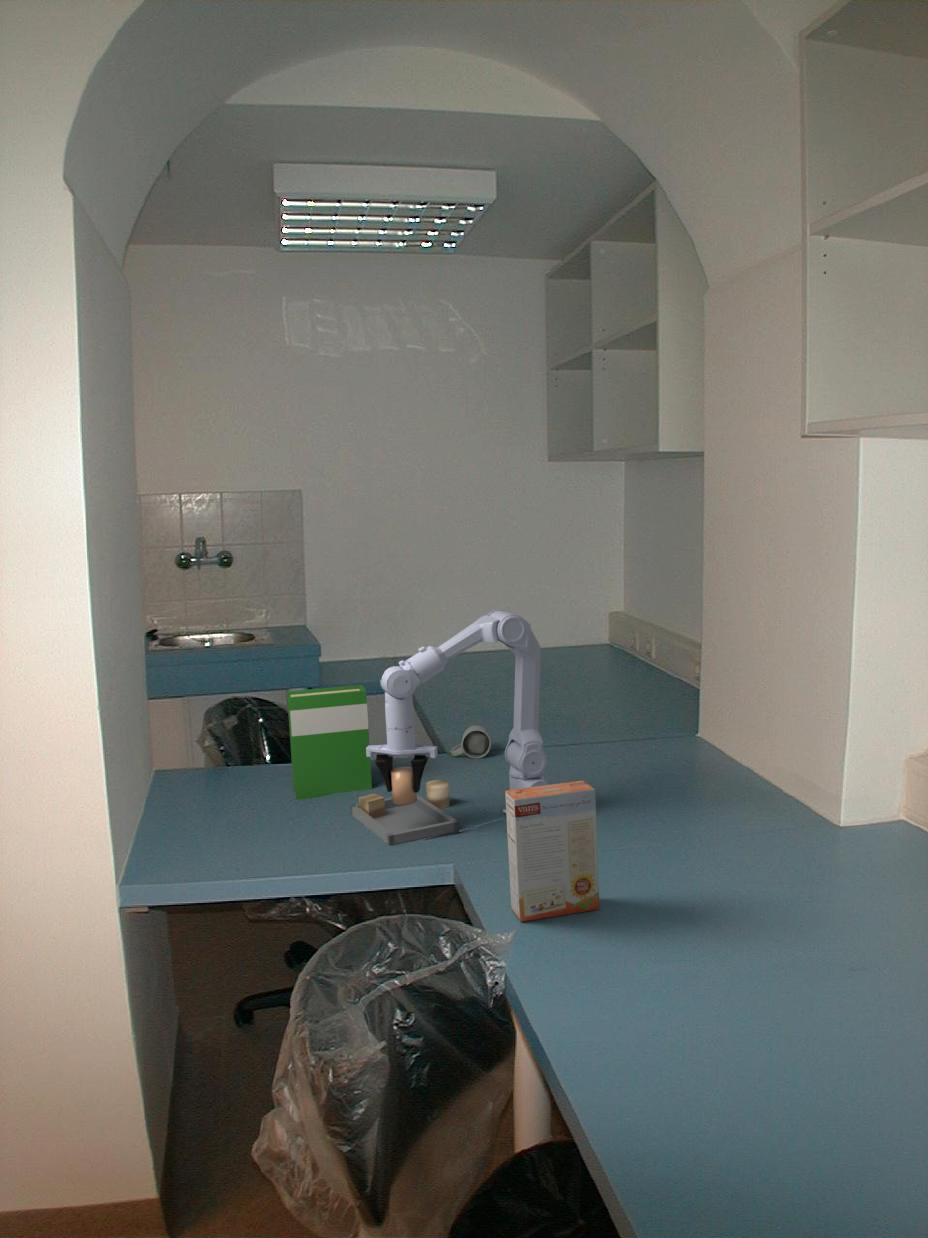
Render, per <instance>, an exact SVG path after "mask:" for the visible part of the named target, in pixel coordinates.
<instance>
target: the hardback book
mask: <svg viewBox="0 0 928 1238" xmlns="http://www.w3.org/2000/svg"><path fill="white" fill-rule="evenodd" d="M286 698H287V699H286V700H287V713H288V715H287V716H288V726H289V739H290V740H289V743H290V753H291V755H290V756H291V770H292V785H293V792H295V800H296V801H298V800H299V801H300V800H307V799H316V798H320V797H325V796H328V795H332V794H339V793H340V794H341V793H350V792H358V791H359V792H360V791H365V790H366V791H367V790H372V789H373V785H372V784H373V783H372V782H373V781H372V766H371V765H372V764H371V757H367V756H366V748H367V747H368V746H369V745H370V734H369V733H370V729H369V715H368V698H367V689H366V688H365V687H364V686H363V684H356V685H346V686H343V685H342V686H334V687H324V688H322V687H321V688H312V689H311V688H310V689H302V690H289V691H286Z"/></svg>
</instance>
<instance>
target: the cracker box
mask: <svg viewBox="0 0 928 1238" xmlns="http://www.w3.org/2000/svg"><path fill="white" fill-rule="evenodd" d="M504 793H505V796H504V797H505V809H506V813H505V816H506V831H507V832H506V833H507V836H506V837H507V849H508V850H507V852H508V867H509V868H508V869H509V870H508V871H509V886H510V887H509V888H510V892H509V893H510V907H511V910H512V912H513V913H514V914H515V916H516V917H517V918H518V920H519V921H520V922H522V923H523V922H529V921H534V920H540V919H542V920H543V919H547V918H551V917H559V916H566V915H571V914H572V915H573V914H577V913H584V912H591V911H596V910H600V884H599V883H600V882H599V881H600V878H599V855H598V854H599V853H598V852H599V851H598V831H597V830H598V829H597V807H596V805H597V803H596V789H595V787H592V786H591V785H590V784H588V783H587V782H586V781H584V780H577V781H569V782H560V783H554V784H553V783H552V784H549V785H545V786H537V787H529V788H521V789H513V790H510V789H508V790H505V792H504Z"/></svg>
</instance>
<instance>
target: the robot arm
mask: <svg viewBox="0 0 928 1238" xmlns="http://www.w3.org/2000/svg"><path fill="white" fill-rule="evenodd" d="M498 642H499V643H502V644H503V645H505V647H506V648H507V649H509V650H510V652H512V653H513V654H514V656H515V662H514V693H513V694H514V695H513V696H514V697H513V698H514V699H513V725H512V726H513V728H512V729H511V731H510V732H509V735H508V736H509V737H508V742H507V744H506V747H505V750H504V759H505V760H506V762H507V763H508V764H509V765H510V768H509V771H508V776H509V777H508V779H509V790H513V789H521V788H529V787H537V786H545V785H550V784H549V783H548V782H547V781H546V780H545V777H544V771H545V770H546V768H547V763H548V759H547V755H546V753H545V750H544V741H543V738H542V736H541V734H540V732H539V722H540V721H539V719H540V718H539V717H540V714H539V713H540V688H541V686H540V685H541V654H542V652H541V651H542V648H541V645H540V643H539V640H538V639H537V638H536V636H535V634H534V632H533V630H532V628H531V623H529V622H528V620H526V619H524V617H522V616H520V615H519V614H516V613H511V612H508V611H506V610H505V609H504V610H503V609H494V610H492V611H490V612H489V613H488V614H484V615H482V616H480V617H479V618H478V619H477V620H475V621H474V622H472V623H471V624H470V625H468V626H467V627H466V628H464V629H462V630H461V631H459V632H458V633H457V634H456V635H454V636H452V637H451V638H450V639H448V640H446V641H445V642H444V643H442V644H441V645H439V646H437V647H436V646H432V645H429V646H427V647H426V646H421V647H419V648H418V650H417V651H418V652H417V653H415V654H414V655H412V656H410V657H409V658H408V659H406V660H400V661H399V662H398V665H399V666H398V665H397V666H394V665H393V666H390V667H388V668H387V669H385V671H384V672H383V674H382V677H381V679H380V680H379V683H380V687H381V688H382V689H383V691H385V692H384V700H385V701H384V702H385V703H384V713H385V715H384V716H385V726H386V727H385V728H386V729H385V730H386V731H385V732H386V744H375V745H373V744H371V745H370V744H369V746H368V747H367V748H366V756H367V757H370V758H371V757H376V758H375V760H374V764H375V766H376V767H377V769H378V770H379V773H380V774H381V775H382V778H383V780H384V783H385V787H386V791H387V792H388V793H392V785H391V772H390V771H391V770H392V769H394V768H393V765H394V764H393V762H394V757H399V758H400V757H406V758H407V757H410V758H412V757H413V758H412V760H410V764H411V767H412V770H413V778H414V793H419V792H420V790H421V782H422V777H423V774H424V770H425V767H426V765H427V762H428V760H429V758H430V759H435V758H437V756H438V746H434V745H433V746H432V745H424V744H417V743H416V733H415V716H414V715H415V711H414V703H413V694H414V692H415V691H416V689H417V687H419V686H421V685H422V684H423V683H425V682H427V681H428V680H430V679H431V678H433V677H434V676H436V675H438V674H440V673H442V672H443V671H444V670H445V668H446V664H447V662H448V661H449V660H451V659H453V658H455V657H457V656H458V655H460V654H461V653H463V652H465V651H467V650H469V649H470V648H472V647H475V646H476V645H477V644H480V643H489V644H490V643H492V644H495V643H496V644H497V643H498ZM502 813H504V814H506V808H504V809H502Z"/></svg>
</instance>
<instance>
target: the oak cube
mask: <svg viewBox="0 0 928 1238" xmlns="http://www.w3.org/2000/svg"><path fill="white" fill-rule="evenodd" d="M384 799H385V797H383V796H382V795H379V794H377V793H372V794H367V795H364V796H359V797H358V804H359V808H360V809H362V810H363V811H364V812H365V813H367V814H368V815H369V816H371V817H372V818H373V819H375V818H379V817H382V816H385V801H384Z"/></svg>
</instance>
